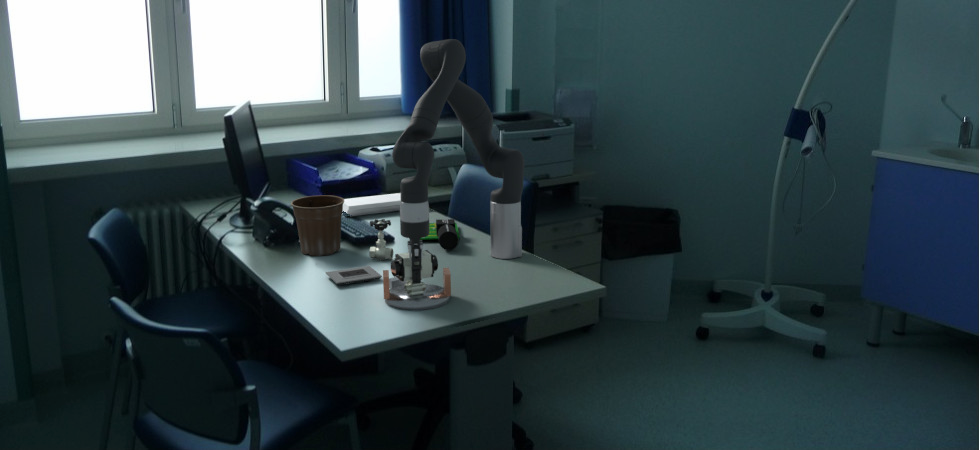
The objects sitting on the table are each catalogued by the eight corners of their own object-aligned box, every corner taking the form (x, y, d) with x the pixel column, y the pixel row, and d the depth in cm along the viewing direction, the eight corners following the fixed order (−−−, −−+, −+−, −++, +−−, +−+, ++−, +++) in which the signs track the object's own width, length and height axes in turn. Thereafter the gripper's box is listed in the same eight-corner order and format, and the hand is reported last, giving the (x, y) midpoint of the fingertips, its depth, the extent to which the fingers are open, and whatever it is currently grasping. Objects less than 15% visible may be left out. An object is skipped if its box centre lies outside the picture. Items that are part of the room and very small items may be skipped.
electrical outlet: (337, 289, 246) (336, 281, 245) (325, 279, 255) (325, 271, 254) (382, 282, 252) (381, 274, 251) (369, 272, 261) (369, 264, 260)
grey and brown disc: (447, 287, 246) (447, 261, 244) (452, 308, 230) (452, 281, 228) (383, 290, 244) (382, 264, 242) (384, 312, 228) (383, 284, 226)
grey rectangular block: (402, 283, 250) (401, 275, 249) (407, 286, 248) (406, 277, 247) (386, 287, 247) (386, 279, 246) (391, 290, 245) (391, 281, 244)
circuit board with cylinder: (412, 209, 305) (456, 207, 307) (412, 228, 307) (456, 227, 308) (413, 232, 276) (462, 230, 278) (414, 253, 278) (462, 251, 280)
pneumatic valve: (391, 294, 237) (389, 250, 234) (432, 287, 241) (431, 245, 238) (398, 300, 232) (396, 256, 229) (440, 294, 237) (439, 250, 234)
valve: (388, 263, 268) (387, 225, 265) (367, 262, 269) (366, 223, 266) (395, 257, 274) (394, 219, 271) (374, 256, 275) (373, 218, 272)
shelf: (339, 213, 328) (338, 199, 326) (415, 204, 341) (415, 191, 340) (349, 220, 318) (348, 206, 317) (427, 211, 331) (426, 197, 330)
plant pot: (300, 261, 270) (297, 209, 266) (288, 247, 285) (285, 198, 280) (352, 254, 277) (350, 204, 273) (339, 241, 291) (336, 193, 287)
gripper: (431, 224, 225) (432, 287, 229) (427, 210, 239) (428, 270, 243) (401, 225, 224) (402, 288, 228) (399, 211, 238) (400, 271, 242)
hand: (416, 279), depth 236 cm, fingers closed on pneumatic valve, 5 cm apart
